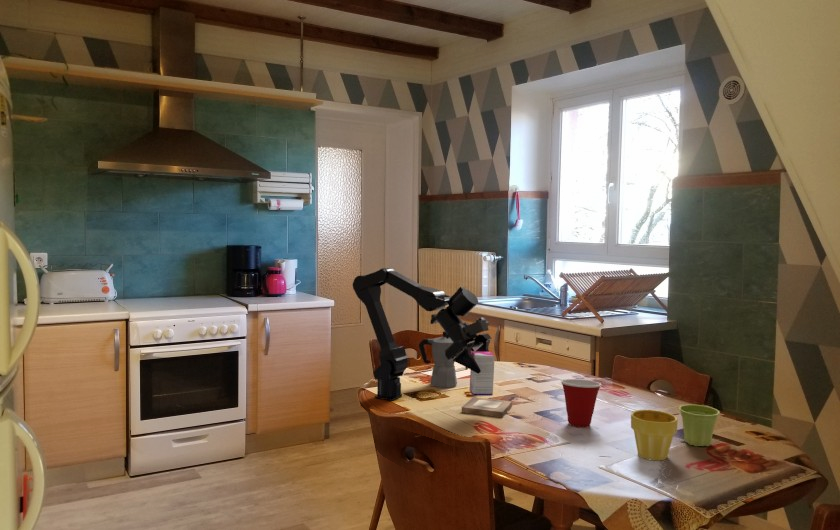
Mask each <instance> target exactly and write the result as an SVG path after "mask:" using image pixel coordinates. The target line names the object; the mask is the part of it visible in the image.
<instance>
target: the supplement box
mask: <svg viewBox="0 0 840 530" xmlns="http://www.w3.org/2000/svg"><path fill="white" fill-rule="evenodd" d="M471 355H472V356H473V358H474V360H475V361H476V363H477V365H478V366H479V368H480V370H481V372H480V373H479V374H478V373H476V372H474V371H472V370H470V376H469V377H470V378H469V392H470V393H471V395H472V396H473V397H478V396H481V397H482V396H487V397H488V396H489V397H490V396H493V395H494V394H493V393H494V379H495V378H494V376H495V375H494V373H495V355H494V354H493V352H491V351H489V352H480V351H471Z"/></svg>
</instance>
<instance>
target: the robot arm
mask: <svg viewBox="0 0 840 530" xmlns="http://www.w3.org/2000/svg"><path fill="white" fill-rule="evenodd" d="M386 284H388V285H390V286H392V287H393V288H395V289H397V290H399V291H401V292H402V293H404V294H406V295H408V296H409V297H411V298H412V299H414V300H415V302H416V303H417V305H419V306H420V307H421V308H422V309H424V310H425V311H427V312H434V311H437V313H432V314H431V315H430V316H431V319H430V324H431V325H434V324H437V323H438V324H439V325H440V327H441V328H442V329H443V332H444V331H445V332H446V333H447V335H446V336H445V337H446V338H447V339H451V340H452V341H453V344H451V345H450V346H449V347H448V348H447V349H446V350H445V357H446V358H447V360H448V361H449V360H452V359H453V362H454V363H457V364H459V365H461V366H463V367H465V368H466V369H469V370H470V371H471V370H472V371H474V372H476V373H478V374H479V373H480V372H481V370H480V368H479V366H478V365H477V363H476V361H475V360H474V358H473V356H472V355H471V353H472V351H480V352H490V350H489V346H490V343H491V340H492V337H491V335H490V334H489V333H487V331H489V330H490V329H489V325H490V322H489V321H488V320H487V319H486V318H485V317H480V318H476V319H475V320H476V321H475V322H473V323H469V322H466V321H465V322H464V321H463V320H462V319H461V318H460V317H466V316H467V315H468V314H469V312H471V311H472V309H474V308H476V306H477V305H478V303H479V299H478V297H477V296H476V294H475V293H473V292H472V291H470V290H469V289H466V287H465V286H460V287H459V288H458V289H456V291H455V292H454V293H453V294H452V296H451V295H448V294H446V293H445V291H444V290H441V289H437V288H434V287H429V286H426V285H421V284H420V283H418V282H416V281H415V280H414V279H410V278H409V277H407V276H405V275H403V274H402V273H400V272H398V271H396V270H394V268H392V267H384V268H383V267H382V268H380V269H379V270H376V271H374V272H371V273H368V274H363V275H357V276H356V277H355V278H354V279H353V281H352V289H353V291H354V293H355V295H356V297H357V298H358V299H359V300H360V301H361V302H362V303H363V305H364V306H365V310H366V311H367V314H368V318H369V320H370V323H371V326H372V328H373V331H374V334H375V337H376V340H377V342H378V346H379V356H378V360H379V366H377V368H375V370H374V371H373V372H372V373H373V376H374V379H375V380H377V389H376V390H377V391H376V394H375V395H374V398H377V399H381V400H385V401H386V400H387V401H394V400H396V399H399V398H401V397H403V394H402V383H401V377H403V375H404V373H405V371H406V369H407V368H408V365H409V361H408V360H409V356H408V354H407V353H406V348H405V346H403V345H401V346H399V345H398V344H397V343H396V341H395V339H394V335H393V333H392V329H391V327H390V324H389V321H388V318H387V316H386V312H385V310H384V308H383V305H382V302H381V293H382V288H381V287H382V286H384V285H386ZM454 356H455V357H456V358H454Z"/></svg>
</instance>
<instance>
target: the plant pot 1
mask: <svg viewBox="0 0 840 530" xmlns="http://www.w3.org/2000/svg"><path fill="white" fill-rule="evenodd" d="M678 420H679V419H678V417H677V416H676V415H674V414H673V413H670V412H667V411H661V410H657V409H637V410H634V411H633V412H631V415H630V428H631V429H632V430H633V433H634V439H635V445H636V449H637V455H638V456H639V457H640V456H641V457H640V458H642V457H643V458H642V459H645V458H646V459H645V460H649V459H651V460H650V461H664V460H666V459H668V455H669V452H670V449H671V445H672V442H673V438H674V436H675V435H676V434H677V432H678Z"/></svg>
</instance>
